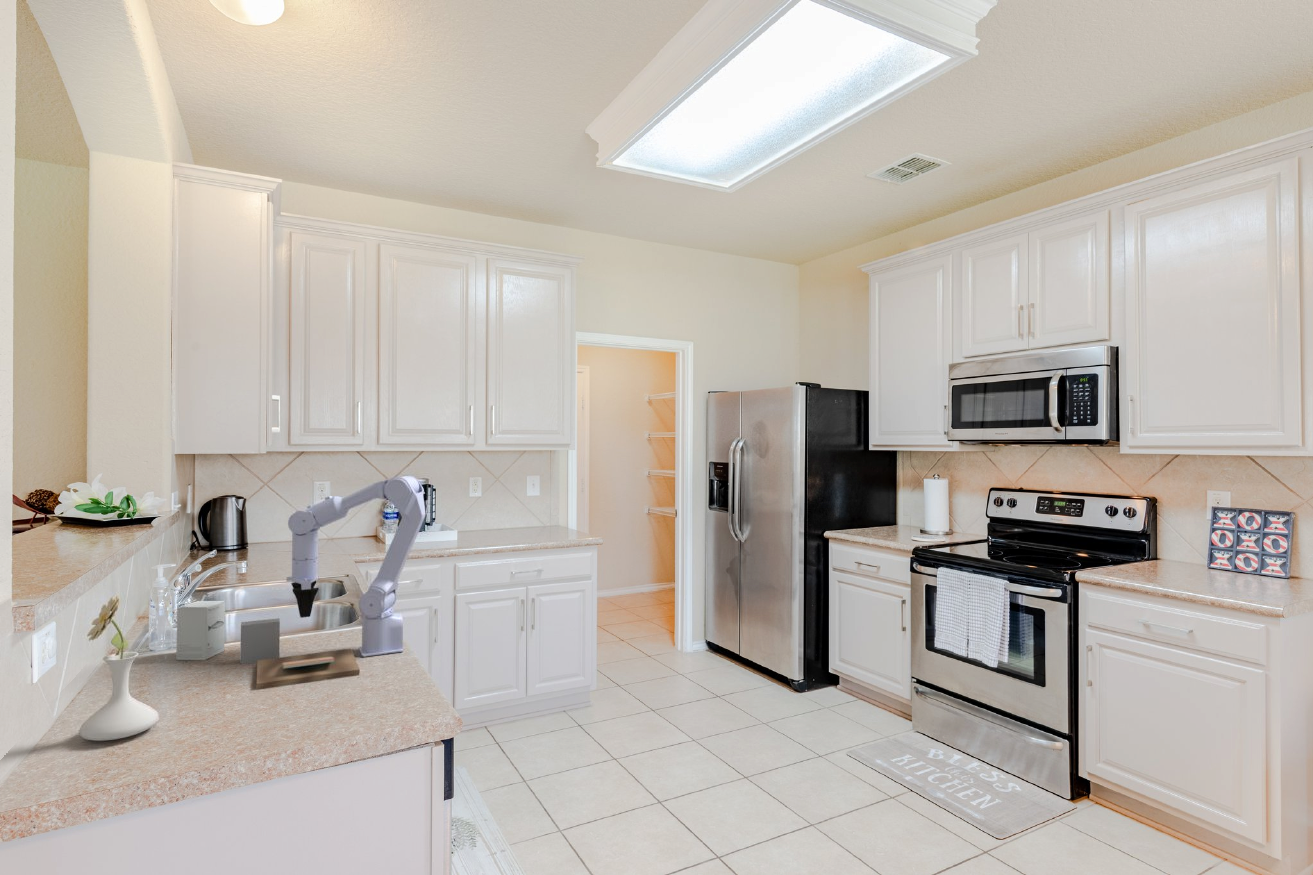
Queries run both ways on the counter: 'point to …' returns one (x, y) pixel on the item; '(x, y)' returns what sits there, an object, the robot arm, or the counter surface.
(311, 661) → the tile
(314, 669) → the board
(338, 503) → the robot arm
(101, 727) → the flower in vase
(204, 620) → the supplement box
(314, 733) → the counter surface
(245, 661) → the grey rectangular block
